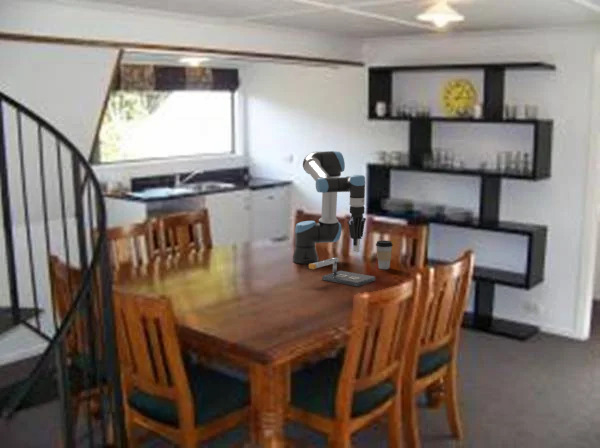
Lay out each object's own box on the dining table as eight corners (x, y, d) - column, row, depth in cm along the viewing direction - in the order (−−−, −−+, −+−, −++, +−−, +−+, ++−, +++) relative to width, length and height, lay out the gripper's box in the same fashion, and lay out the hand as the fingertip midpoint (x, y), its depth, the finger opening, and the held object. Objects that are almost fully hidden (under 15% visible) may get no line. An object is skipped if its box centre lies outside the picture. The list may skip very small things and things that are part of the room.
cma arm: (334, 261, 350) (334, 257, 350) (340, 262, 347) (340, 258, 347) (308, 268, 334) (308, 263, 334) (314, 269, 331) (314, 265, 331)
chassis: (322, 279, 344) (322, 264, 342) (340, 274, 356) (340, 259, 355) (357, 286, 330) (357, 270, 328) (375, 280, 342) (375, 265, 341)
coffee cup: (392, 266, 374) (392, 240, 372) (392, 270, 365) (393, 243, 362) (375, 266, 375) (375, 240, 373) (375, 269, 366) (375, 243, 363)
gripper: (355, 208, 327) (354, 254, 331) (370, 205, 337) (369, 250, 341) (343, 206, 332) (342, 252, 336) (358, 203, 342) (357, 248, 346)
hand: (356, 251), depth 339 cm, fingers closed
